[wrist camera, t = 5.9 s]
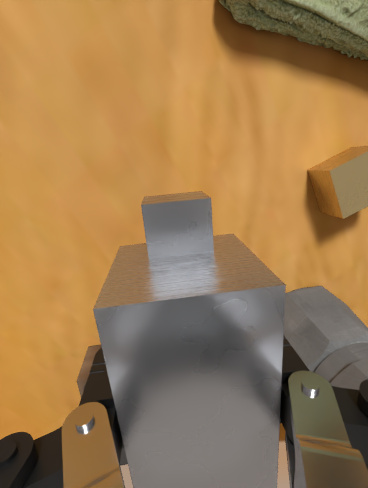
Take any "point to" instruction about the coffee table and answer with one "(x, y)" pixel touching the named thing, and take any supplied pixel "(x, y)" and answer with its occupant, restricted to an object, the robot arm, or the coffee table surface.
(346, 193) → the brass block
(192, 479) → the block
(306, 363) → the coffeepot
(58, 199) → the coffee table surface
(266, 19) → the washcloth
